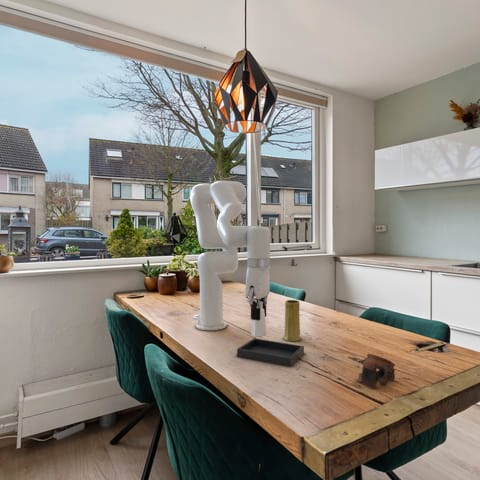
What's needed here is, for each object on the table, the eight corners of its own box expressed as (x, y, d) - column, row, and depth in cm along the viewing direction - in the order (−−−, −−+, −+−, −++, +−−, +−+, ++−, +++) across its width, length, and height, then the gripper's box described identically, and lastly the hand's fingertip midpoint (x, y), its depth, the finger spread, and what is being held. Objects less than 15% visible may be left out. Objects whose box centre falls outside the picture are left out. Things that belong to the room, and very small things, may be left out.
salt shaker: (261, 337, 117) (261, 304, 116) (247, 335, 120) (247, 302, 119) (269, 333, 121) (269, 301, 121) (255, 331, 124) (255, 299, 124)
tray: (237, 356, 117) (237, 348, 117) (254, 345, 129) (254, 338, 128) (290, 366, 109) (290, 358, 109) (304, 353, 120) (304, 346, 120)
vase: (299, 342, 132) (300, 303, 131) (283, 340, 133) (283, 302, 132) (300, 336, 138) (301, 299, 137) (284, 335, 139) (285, 299, 138)
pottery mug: (349, 378, 102) (358, 350, 104) (378, 391, 103) (386, 363, 105) (372, 385, 90) (382, 354, 93) (404, 400, 91) (413, 368, 93)
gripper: (259, 260, 129) (259, 311, 129) (236, 265, 114) (236, 322, 115) (278, 261, 125) (278, 313, 126) (258, 266, 110) (258, 325, 111)
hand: (258, 317), depth 120 cm, fingers closed on salt shaker, 4 cm apart
